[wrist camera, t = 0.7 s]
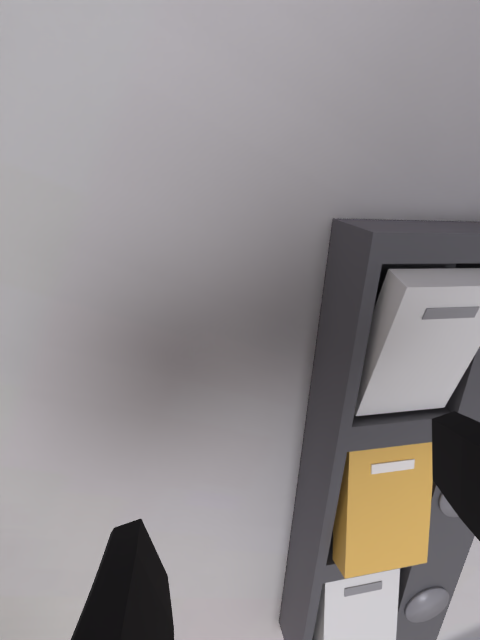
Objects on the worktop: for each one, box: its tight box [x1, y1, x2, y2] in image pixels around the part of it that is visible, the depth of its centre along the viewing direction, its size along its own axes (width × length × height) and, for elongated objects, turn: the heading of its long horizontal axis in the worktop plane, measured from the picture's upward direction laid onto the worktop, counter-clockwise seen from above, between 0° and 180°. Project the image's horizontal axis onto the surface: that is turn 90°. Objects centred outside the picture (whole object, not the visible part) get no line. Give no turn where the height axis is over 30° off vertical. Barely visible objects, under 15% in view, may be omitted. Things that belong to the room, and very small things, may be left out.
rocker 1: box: [313, 568, 400, 640], centre depth 24 cm, size 5×7×2 cm
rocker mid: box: [332, 442, 433, 579], centre depth 21 cm, size 5×7×2 cm
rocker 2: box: [354, 268, 480, 416], centre depth 18 cm, size 5×7×2 cm
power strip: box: [279, 219, 480, 640], centre depth 23 cm, size 10×32×4 cm, turn 177°
